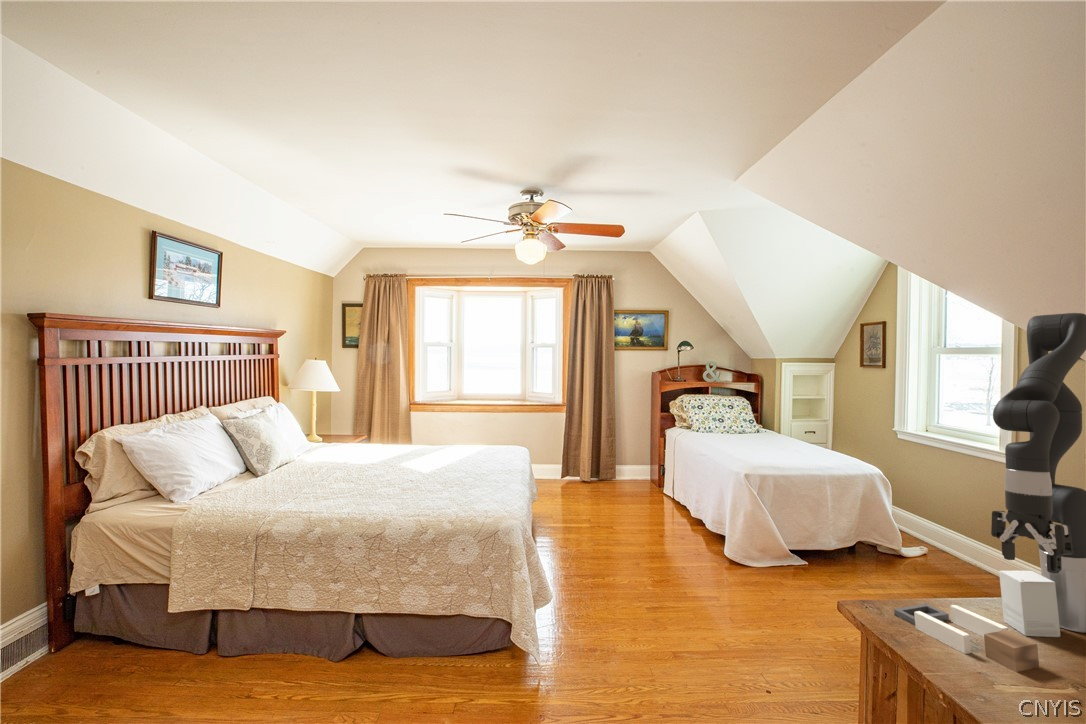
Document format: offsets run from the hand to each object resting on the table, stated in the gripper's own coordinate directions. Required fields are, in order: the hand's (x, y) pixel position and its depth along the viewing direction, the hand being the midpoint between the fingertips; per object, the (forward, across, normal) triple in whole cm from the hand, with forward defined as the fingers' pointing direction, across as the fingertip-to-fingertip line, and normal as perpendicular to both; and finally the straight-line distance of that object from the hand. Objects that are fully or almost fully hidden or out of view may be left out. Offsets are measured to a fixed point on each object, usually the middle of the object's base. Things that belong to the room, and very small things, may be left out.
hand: (1030, 565), depth 110 cm
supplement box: (+18, +9, -12) cm, 24 cm away
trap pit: (+20, +21, +6) cm, 29 cm away
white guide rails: (+20, +11, +6) cm, 23 cm away
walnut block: (+20, 0, +6) cm, 21 cm away
